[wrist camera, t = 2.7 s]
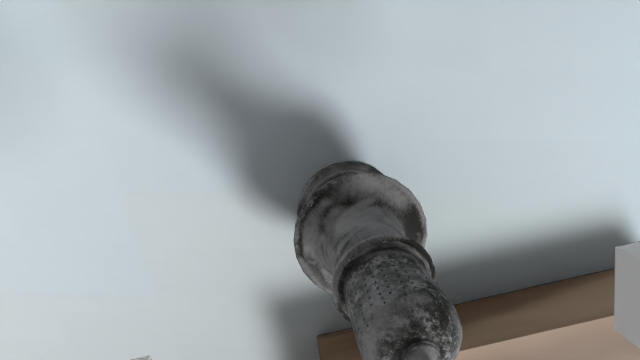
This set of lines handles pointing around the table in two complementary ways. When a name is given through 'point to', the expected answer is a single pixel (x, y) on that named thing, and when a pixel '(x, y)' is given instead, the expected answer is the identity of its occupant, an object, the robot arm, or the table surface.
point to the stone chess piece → (375, 263)
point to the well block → (529, 325)
